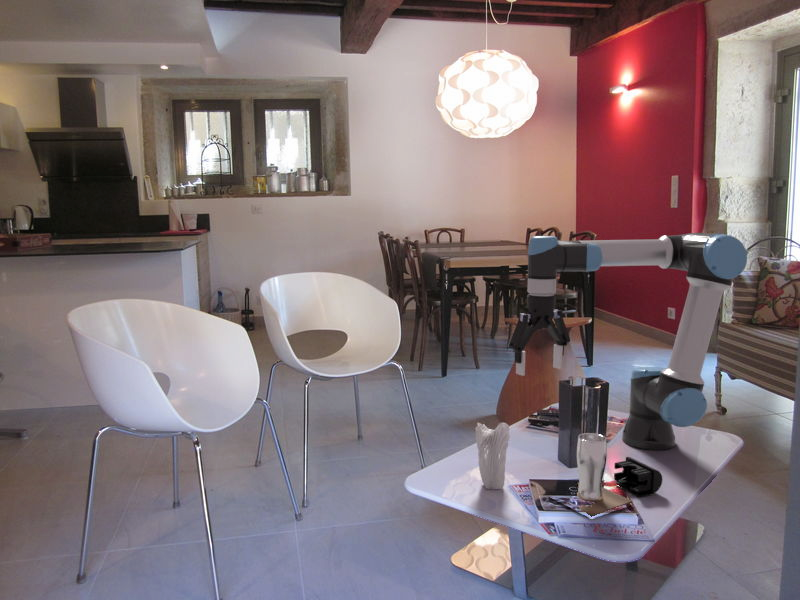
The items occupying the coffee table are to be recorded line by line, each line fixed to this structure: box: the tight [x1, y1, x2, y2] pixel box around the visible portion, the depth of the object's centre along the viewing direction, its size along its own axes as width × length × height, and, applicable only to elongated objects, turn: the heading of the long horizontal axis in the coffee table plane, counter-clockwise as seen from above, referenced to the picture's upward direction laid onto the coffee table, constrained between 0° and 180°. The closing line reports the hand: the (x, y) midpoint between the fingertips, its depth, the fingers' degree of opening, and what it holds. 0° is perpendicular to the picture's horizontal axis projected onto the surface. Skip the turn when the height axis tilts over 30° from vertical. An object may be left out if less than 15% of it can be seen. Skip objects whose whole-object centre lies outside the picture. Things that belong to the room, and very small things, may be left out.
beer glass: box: [576, 432, 608, 502], centre depth 163 cm, size 7×7×15 cm
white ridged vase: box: [474, 422, 510, 490], centre depth 171 cm, size 8×8×18 cm
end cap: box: [613, 456, 663, 499], centre depth 171 cm, size 10×7×7 cm
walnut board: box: [579, 486, 633, 517], centre depth 164 cm, size 14×14×1 cm
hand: (539, 371), depth 183 cm, fingers open, 13 cm apart
